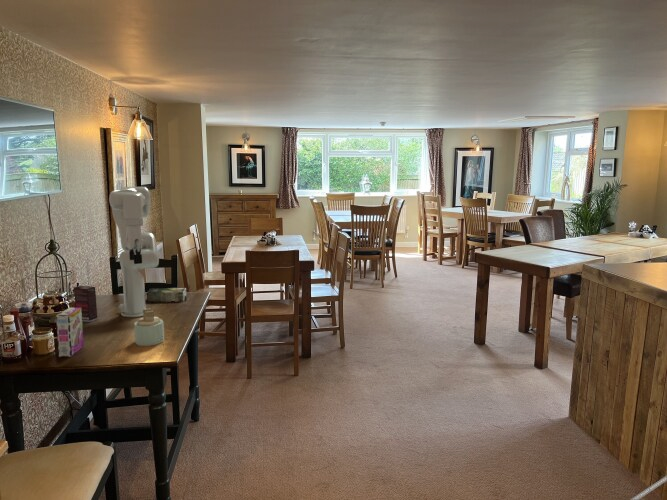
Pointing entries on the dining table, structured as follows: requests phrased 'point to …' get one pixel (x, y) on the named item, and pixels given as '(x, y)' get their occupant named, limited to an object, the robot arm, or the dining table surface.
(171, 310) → the dining table surface
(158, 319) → the stopper
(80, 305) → the supplement box
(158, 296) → the juice carton
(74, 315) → the candy bar box
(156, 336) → the canister
